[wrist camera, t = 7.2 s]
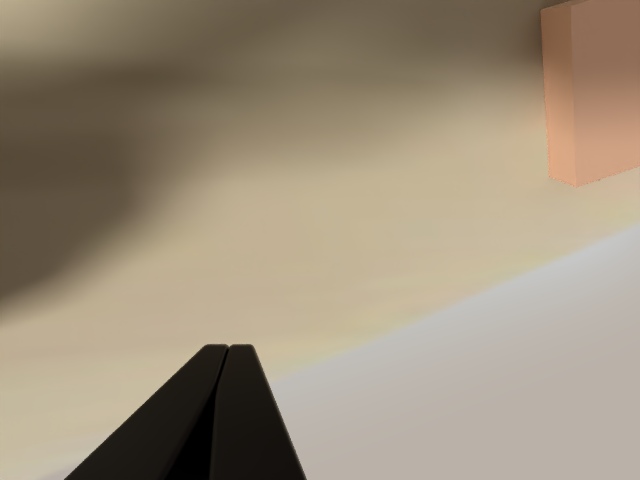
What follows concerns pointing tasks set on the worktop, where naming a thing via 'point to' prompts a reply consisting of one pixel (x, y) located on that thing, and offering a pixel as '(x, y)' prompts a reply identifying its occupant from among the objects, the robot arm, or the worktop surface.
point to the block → (591, 88)
